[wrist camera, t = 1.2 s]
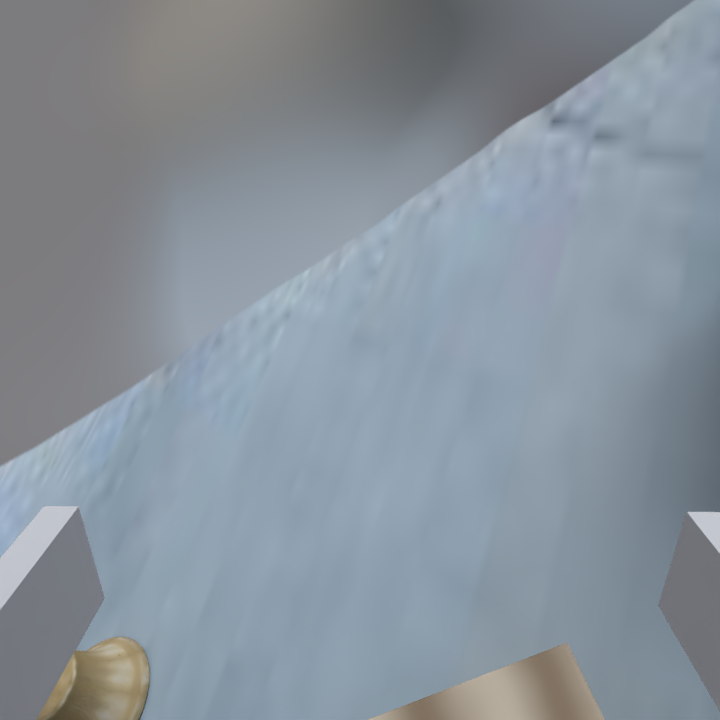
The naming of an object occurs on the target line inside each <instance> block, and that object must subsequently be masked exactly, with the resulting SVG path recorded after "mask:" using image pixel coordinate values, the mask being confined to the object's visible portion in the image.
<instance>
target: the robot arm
mask: <svg viewBox="0 0 720 720" xmlns="http://www.w3.org/2000/svg"><path fill="white" fill-rule="evenodd" d="M104 598H105V597H104V594H103V590H102V587H101V583H100V580H99V576H98V573H97V569H96V566H95V562H94V559H93V555H92V552H91V548H90V545H89V541H88V538H87V535H86V531H85V528H84V524H83V521H82V517H81V514H80V510H79V507H60V506H44V507H43V508H42V510H41V511H40V512H39V513H38V514H37V515H36V517H35V518H34V519H33V520H32V521H31V523H30V524H29V525H28V526H27V527H26V528H25V530H24V531H23V532H22V533H21V534H20V535H19V537H18V538H17V539H16V540H15V541H14V543H13V544H12V545H11V546H10V547H9V548H8V550H7V551H6V552H5V553H4V554H3V556H2V557H1V558H0V720H37V718H38V716H39V714H40V712H41V711H42V709H43V707H44V705H45V704H46V702H47V700H48V698H49V696H50V695H51V693H52V691H53V689H54V687H55V686H56V684H57V682H58V680H59V679H60V677H61V675H62V673H63V671H64V670H65V668H66V666H67V664H68V662H69V661H70V659H71V657H72V655H73V654H74V652H75V650H76V648H77V646H78V645H79V643H80V641H81V639H82V638H83V636H84V634H85V632H86V630H87V629H88V627H89V625H90V623H91V621H92V620H93V618H94V616H95V614H96V613H97V611H98V609H99V607H100V605H101V604H102V602H103V600H104ZM658 606H659V607H660V609H661V611H662V613H663V614H664V616H665V618H666V619H667V621H668V623H669V625H670V626H671V628H672V630H673V632H674V633H675V635H676V637H677V638H678V640H679V642H680V644H681V645H682V647H683V649H684V651H685V652H686V654H687V656H688V657H689V659H690V661H691V663H692V664H693V666H694V668H695V670H696V671H697V673H698V675H699V676H700V678H701V680H702V682H703V683H704V685H705V687H706V689H707V690H708V692H709V694H710V695H711V697H712V699H713V701H714V702H715V704H716V706H717V707H718V709H719V711H720V512H687V513H686V516H685V520H684V523H683V526H682V529H681V533H680V536H679V539H678V543H677V546H676V549H675V552H674V556H673V559H672V562H671V565H670V569H669V572H668V575H667V578H666V582H665V585H664V588H663V592H662V595H661V598H660V601H659V605H658Z"/></svg>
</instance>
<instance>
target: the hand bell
mask: <svg viewBox="0 0 720 720" xmlns="http://www.w3.org/2000/svg"><path fill="white" fill-rule="evenodd" d="M149 676H150V673H149V663H148V659H147V656H146V654H145V652H144V650H143V648H142V647H141V646H140V644H138V643H137V642H136V641H135V640H133V639H130V638H127V637H114V638H110V639H107V640H104V641H102V642H100V643H98V644H96V645H94V646H93V647H91V648H90V649H89V650H87V651H76V650H75V652H74V654H73V655H72V657H71V659H70V661H69V662H68V664H67V666H66V668H65V670H64V671H63V673H62V675H61V677H60V679H59V680H58V682H57V684H56V686H55V687H54V689H53V691H52V693H51V695H50V696H49V698H48V700H47V702H46V704H45V705H44V707H43V709H42V711H41V712H40V714H39V716H38V718H37V720H139V718H140V716H141V714H142V711H143V708H144V705H145V701H146V697H147V693H148V688H149V681H150V677H149Z"/></svg>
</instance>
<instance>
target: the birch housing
mask: <svg viewBox="0 0 720 720" xmlns="http://www.w3.org/2000/svg"><path fill="white" fill-rule="evenodd" d="M369 720H605V719H604V717H603V715H602V713H601V711H600V709H599V707H598V705H597V703H596V701H595V699H594V697H593V695H592V693H591V691H590V689H589V687H588V685H587V682H586V680H585V678H584V676H583V674H582V672H581V670H580V668H579V666H578V664H577V662H576V660H575V658H574V656H573V654H572V652H571V650H570V648H569V646H568V644H567V643H565V644H562V645H560V646H557V647H554V648H552V649H549V650H547V651H544V652H542V653H539V654H536V655H534V656H531V657H529V658H526V659H523V660H521V661H518V662H516V663H513V664H511V665H508V666H505V667H503V668H500V669H498V670H495V671H493V672H490V673H487V674H485V675H482V676H480V677H477V678H474V679H472V680H469V681H467V682H464V683H462V684H459V685H456V686H454V687H451V688H449V689H446V690H443V691H441V692H438V693H436V694H433V695H431V696H428V697H425V698H423V699H420V700H418V701H415V702H412V703H410V704H407V705H405V706H402V707H400V708H397V709H394V710H392V711H389V712H387V713H384V714H381V715H379V716H376V717H374V718H371V719H369Z"/></svg>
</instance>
